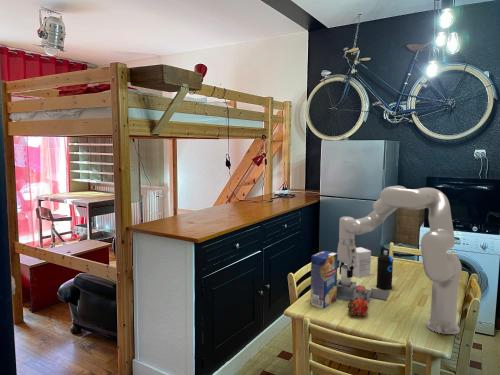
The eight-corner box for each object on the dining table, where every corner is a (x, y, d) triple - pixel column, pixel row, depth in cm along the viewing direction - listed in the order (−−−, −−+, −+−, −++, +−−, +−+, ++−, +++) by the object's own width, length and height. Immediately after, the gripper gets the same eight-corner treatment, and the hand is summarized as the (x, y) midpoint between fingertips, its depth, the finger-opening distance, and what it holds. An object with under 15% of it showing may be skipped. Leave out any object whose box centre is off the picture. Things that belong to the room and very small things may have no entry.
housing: (367, 304, 178) (367, 294, 178) (330, 297, 187) (330, 288, 186) (372, 294, 191) (372, 284, 191) (337, 287, 200) (337, 278, 199)
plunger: (364, 298, 180) (364, 289, 179) (354, 296, 182) (354, 288, 181) (366, 295, 184) (366, 286, 183) (356, 293, 186) (356, 284, 185)
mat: (386, 300, 183) (386, 299, 183) (367, 297, 187) (367, 296, 187) (389, 292, 194) (389, 291, 194) (371, 289, 198) (371, 288, 198)
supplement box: (348, 272, 223) (349, 248, 222) (359, 270, 227) (360, 246, 225) (358, 277, 215) (359, 252, 213) (370, 275, 219) (371, 250, 217)
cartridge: (345, 287, 189) (345, 267, 188) (338, 283, 193) (339, 265, 192) (352, 285, 191) (353, 266, 190) (346, 282, 195) (346, 263, 194)
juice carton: (324, 308, 174) (325, 259, 171) (310, 304, 179) (311, 255, 176) (336, 300, 183) (337, 253, 180) (323, 296, 188) (324, 250, 185)
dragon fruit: (347, 321, 165) (362, 317, 173) (362, 315, 160) (377, 311, 168) (340, 302, 169) (355, 299, 177) (354, 296, 164) (369, 293, 171)
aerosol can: (374, 288, 199) (376, 252, 197) (377, 283, 206) (378, 248, 204) (391, 291, 195) (392, 254, 193) (393, 286, 202) (394, 250, 200)
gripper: (364, 243, 184) (363, 279, 186) (341, 236, 199) (340, 269, 201) (352, 245, 180) (352, 282, 182) (329, 238, 195) (329, 272, 197)
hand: (346, 275), depth 191 cm, fingers closed on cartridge, 5 cm apart
